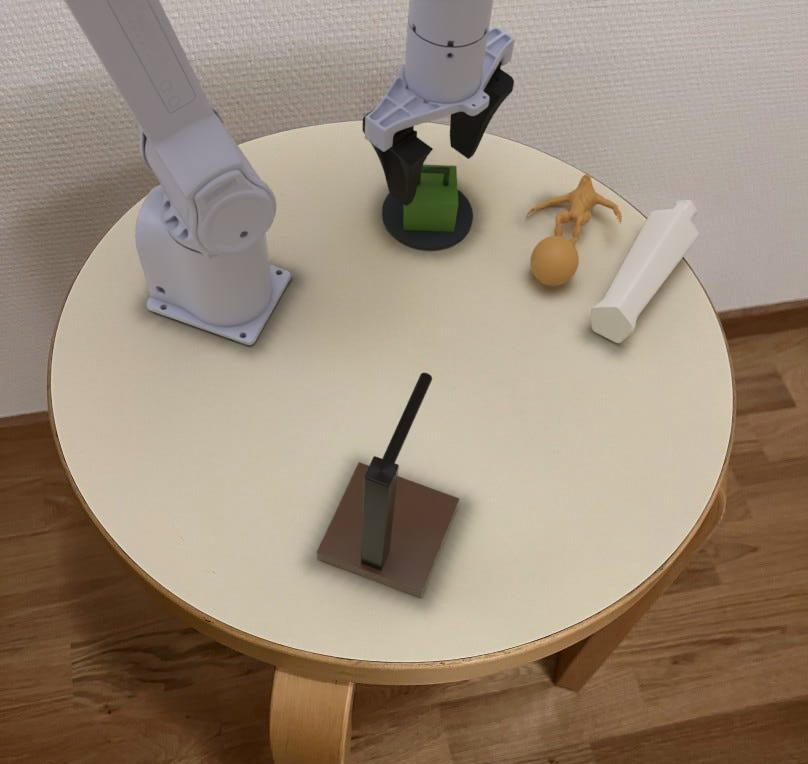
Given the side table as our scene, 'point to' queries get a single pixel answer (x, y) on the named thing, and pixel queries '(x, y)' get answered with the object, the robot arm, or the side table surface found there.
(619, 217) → the figurine
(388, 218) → the mat
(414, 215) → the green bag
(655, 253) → the perfume bottle
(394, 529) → the hook stand
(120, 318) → the side table surface
